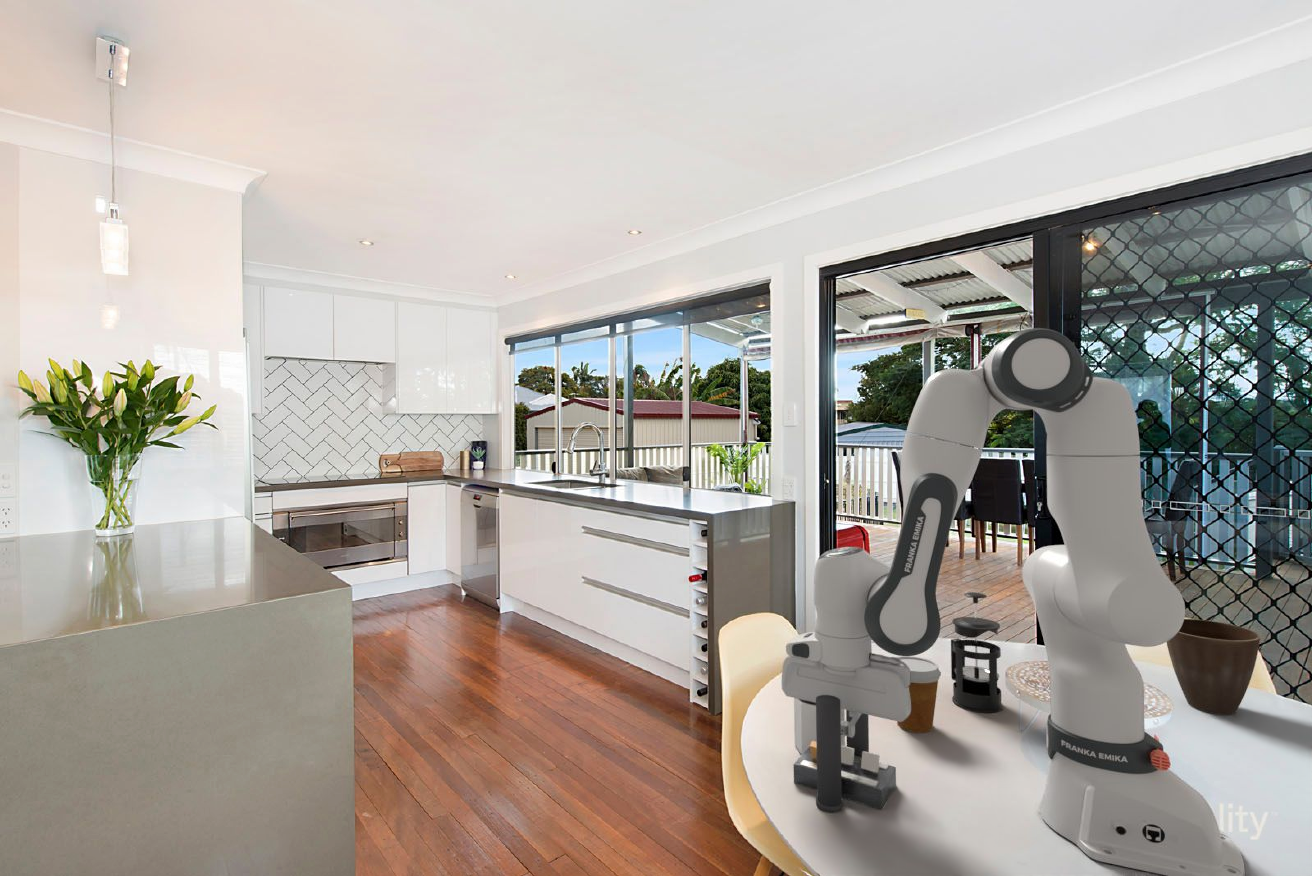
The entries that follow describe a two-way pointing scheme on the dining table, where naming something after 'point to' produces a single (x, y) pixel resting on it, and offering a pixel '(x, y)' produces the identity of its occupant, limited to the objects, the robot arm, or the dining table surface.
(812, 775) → the breaker panel
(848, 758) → the white block
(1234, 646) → the plant pot
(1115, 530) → the robot arm
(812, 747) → the tripped paddle
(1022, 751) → the dining table surface
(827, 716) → the cord post outer
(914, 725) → the disposable coffee cup
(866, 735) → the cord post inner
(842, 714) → the jar
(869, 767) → the white block
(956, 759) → the dining table surface
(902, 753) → the dining table surface
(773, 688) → the dining table surface
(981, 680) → the french press
